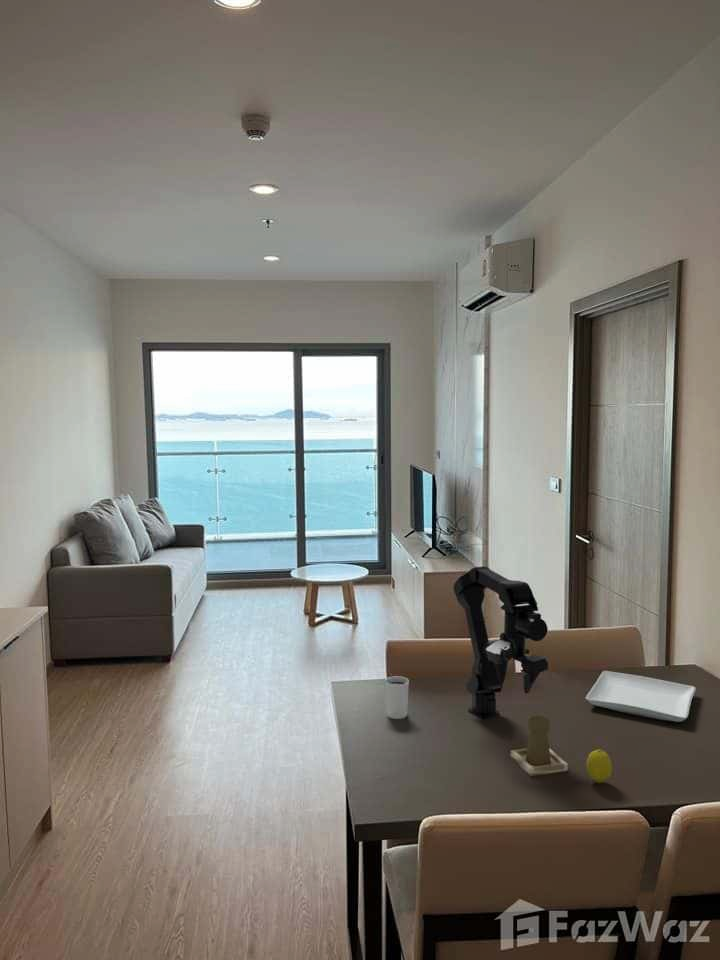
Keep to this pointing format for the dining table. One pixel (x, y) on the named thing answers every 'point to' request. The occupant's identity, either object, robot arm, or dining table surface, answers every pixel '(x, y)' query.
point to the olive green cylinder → (538, 742)
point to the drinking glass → (396, 697)
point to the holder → (555, 766)
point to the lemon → (599, 766)
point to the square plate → (642, 696)
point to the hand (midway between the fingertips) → (514, 687)
